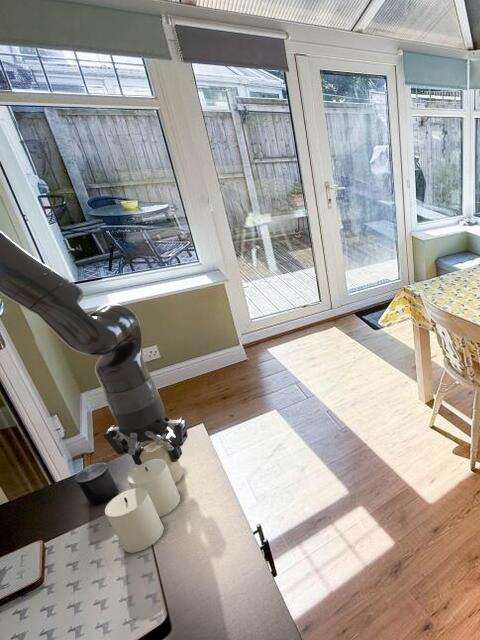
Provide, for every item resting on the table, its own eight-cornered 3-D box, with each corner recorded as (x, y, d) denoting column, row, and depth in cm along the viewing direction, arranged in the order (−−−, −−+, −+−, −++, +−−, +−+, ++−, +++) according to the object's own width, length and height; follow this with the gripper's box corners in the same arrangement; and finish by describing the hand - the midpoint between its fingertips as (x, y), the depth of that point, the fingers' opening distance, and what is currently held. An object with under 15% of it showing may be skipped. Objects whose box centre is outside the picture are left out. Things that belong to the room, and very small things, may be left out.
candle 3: (116, 555, 76) (94, 515, 72) (134, 525, 82) (115, 486, 77) (154, 549, 78) (134, 509, 73) (169, 520, 83) (152, 481, 79)
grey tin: (82, 508, 85) (68, 484, 82) (97, 488, 89) (85, 464, 86) (110, 503, 86) (97, 480, 83) (124, 484, 90) (112, 460, 87)
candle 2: (137, 521, 83) (118, 482, 78) (153, 495, 88) (136, 457, 83) (172, 515, 84) (155, 477, 79) (185, 490, 89) (170, 453, 85)
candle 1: (189, 472, 93) (176, 439, 89) (165, 492, 89) (150, 458, 84) (170, 466, 95) (157, 433, 91) (145, 486, 90) (130, 452, 86)
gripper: (184, 384, 87) (205, 443, 94) (103, 392, 84) (131, 453, 91) (166, 407, 81) (190, 470, 88) (78, 417, 78) (110, 481, 84)
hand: (160, 461), depth 89 cm, fingers closed on candle 1, 5 cm apart
